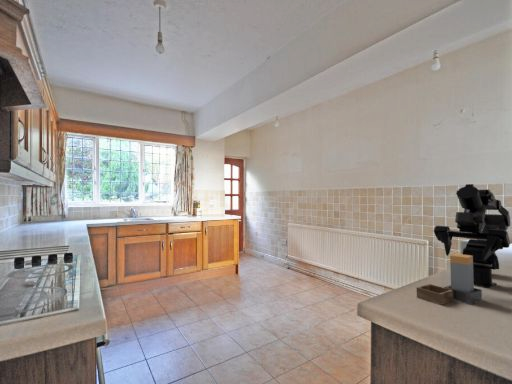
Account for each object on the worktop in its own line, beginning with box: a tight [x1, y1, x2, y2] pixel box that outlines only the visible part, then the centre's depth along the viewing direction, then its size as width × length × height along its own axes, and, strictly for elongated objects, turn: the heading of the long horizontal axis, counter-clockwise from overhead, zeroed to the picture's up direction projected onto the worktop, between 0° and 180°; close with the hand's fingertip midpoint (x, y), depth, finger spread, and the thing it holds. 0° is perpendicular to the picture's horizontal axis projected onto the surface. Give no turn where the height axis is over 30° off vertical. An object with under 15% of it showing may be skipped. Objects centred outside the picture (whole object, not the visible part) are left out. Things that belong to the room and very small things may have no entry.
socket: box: [443, 284, 483, 305], centre depth 82 cm, size 7×7×3 cm
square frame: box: [416, 283, 455, 306], centre depth 82 cm, size 7×7×3 cm
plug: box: [449, 252, 475, 293], centre depth 82 cm, size 4×4×13 cm
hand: (464, 257), depth 84 cm, fingers open, 9 cm apart
